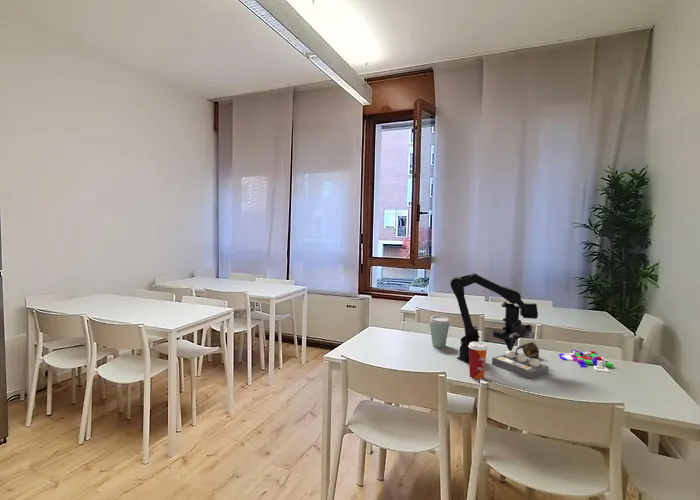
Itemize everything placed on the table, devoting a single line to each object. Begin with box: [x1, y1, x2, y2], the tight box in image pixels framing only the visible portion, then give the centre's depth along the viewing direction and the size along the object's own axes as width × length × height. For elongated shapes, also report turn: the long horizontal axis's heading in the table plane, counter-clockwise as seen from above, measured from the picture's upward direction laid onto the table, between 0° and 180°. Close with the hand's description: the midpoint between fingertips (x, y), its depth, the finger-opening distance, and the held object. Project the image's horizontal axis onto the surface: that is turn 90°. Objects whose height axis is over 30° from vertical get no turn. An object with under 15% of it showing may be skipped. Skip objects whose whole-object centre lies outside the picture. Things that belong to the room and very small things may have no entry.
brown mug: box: [514, 341, 540, 358], centre depth 189 cm, size 7×13×10 cm
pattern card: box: [497, 357, 532, 370], centre depth 172 cm, size 4×15×1 cm, turn 32°
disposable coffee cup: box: [428, 315, 451, 348], centre depth 203 cm, size 11×11×15 cm
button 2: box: [529, 357, 541, 368], centre depth 170 cm, size 4×4×3 cm
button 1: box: [504, 349, 516, 360], centre depth 180 cm, size 4×4×3 cm
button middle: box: [517, 353, 528, 364], centre depth 175 cm, size 4×4×3 cm
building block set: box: [558, 349, 614, 373], centre depth 186 cm, size 25×20×4 cm
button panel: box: [491, 354, 550, 380], centre depth 175 cm, size 13×19×3 cm
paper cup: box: [468, 341, 488, 380], centre depth 164 cm, size 8×8×14 cm
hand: (510, 350), depth 180 cm, fingers closed
